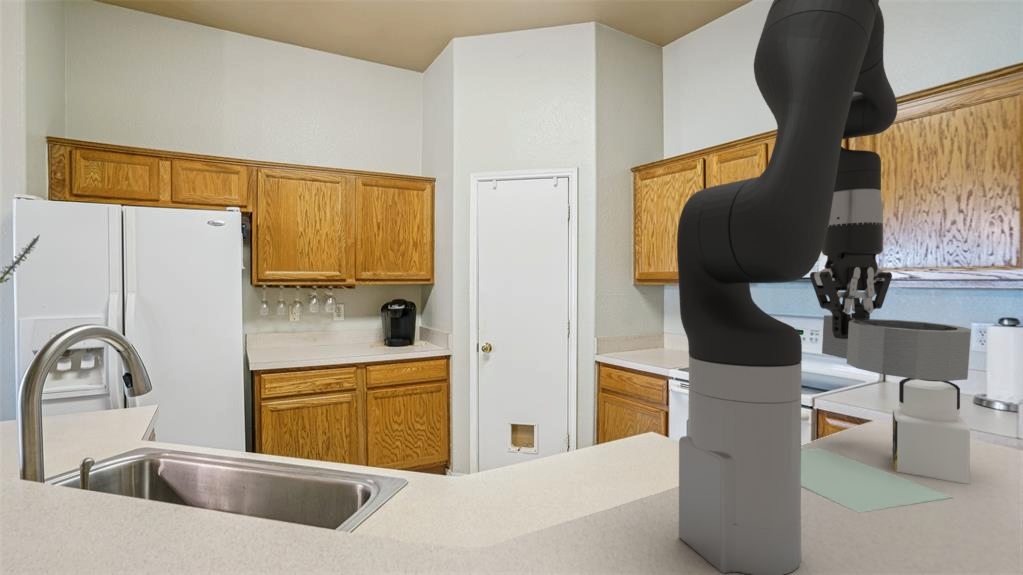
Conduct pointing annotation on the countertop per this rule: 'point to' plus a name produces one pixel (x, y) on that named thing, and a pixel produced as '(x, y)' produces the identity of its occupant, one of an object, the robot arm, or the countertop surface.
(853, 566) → the countertop surface
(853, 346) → the ring
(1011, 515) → the countertop surface
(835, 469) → the mat
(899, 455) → the medicine bottle
